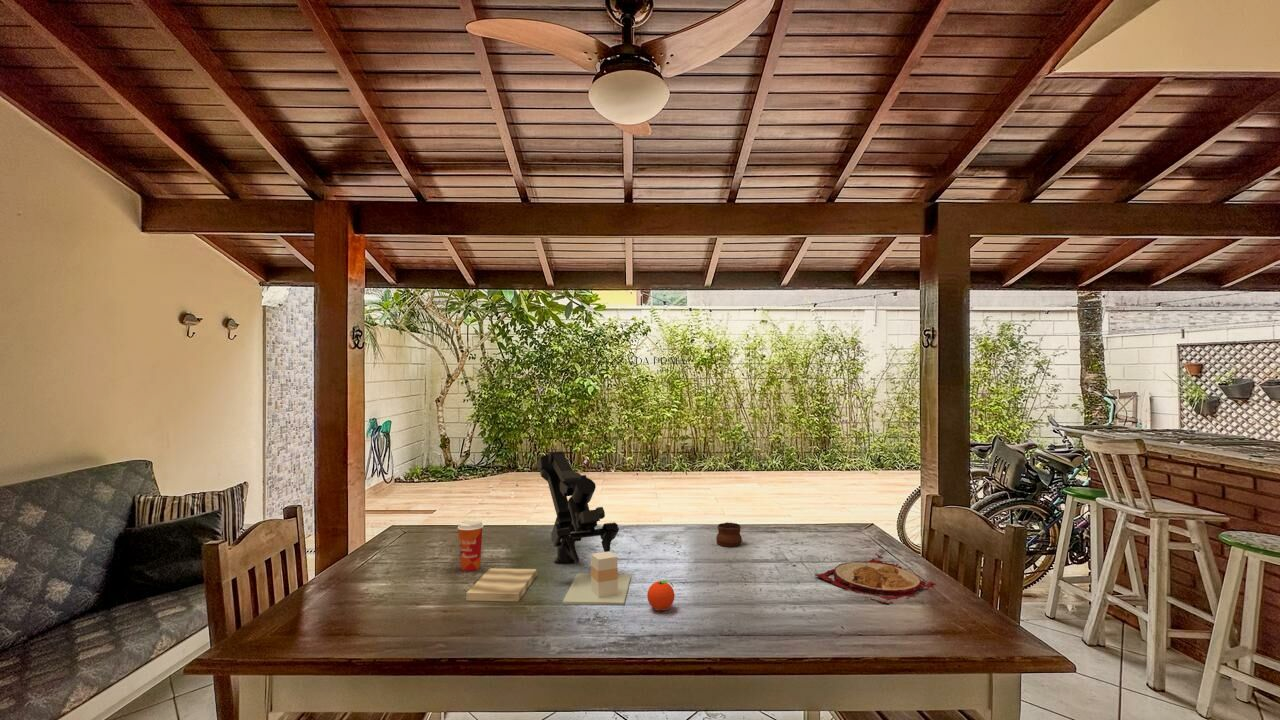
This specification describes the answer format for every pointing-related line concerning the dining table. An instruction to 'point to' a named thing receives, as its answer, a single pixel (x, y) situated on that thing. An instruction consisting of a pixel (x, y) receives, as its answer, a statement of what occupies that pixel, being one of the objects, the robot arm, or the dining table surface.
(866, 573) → the plate with food
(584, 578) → the mat
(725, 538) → the ceramic pot
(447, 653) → the dining table surface
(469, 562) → the paper cup
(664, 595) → the clementine
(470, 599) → the board
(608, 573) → the carton
